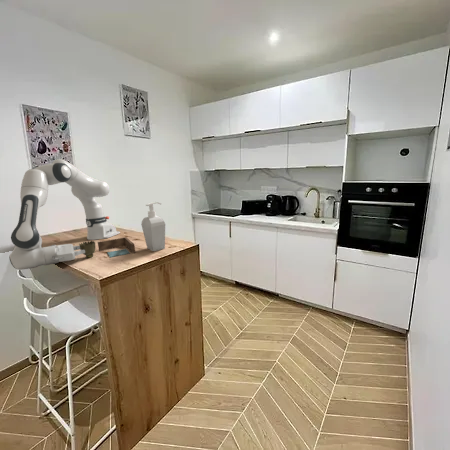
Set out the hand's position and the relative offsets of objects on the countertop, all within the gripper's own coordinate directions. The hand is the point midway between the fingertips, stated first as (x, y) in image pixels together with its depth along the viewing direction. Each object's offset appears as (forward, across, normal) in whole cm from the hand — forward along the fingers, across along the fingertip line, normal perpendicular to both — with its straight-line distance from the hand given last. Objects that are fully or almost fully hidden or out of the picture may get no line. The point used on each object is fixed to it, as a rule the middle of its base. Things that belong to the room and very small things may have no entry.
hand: (84, 249), depth 133 cm
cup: (+2, 0, +5) cm, 5 cm away
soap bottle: (+35, -10, +5) cm, 37 cm away
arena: (+15, 0, +5) cm, 16 cm away
